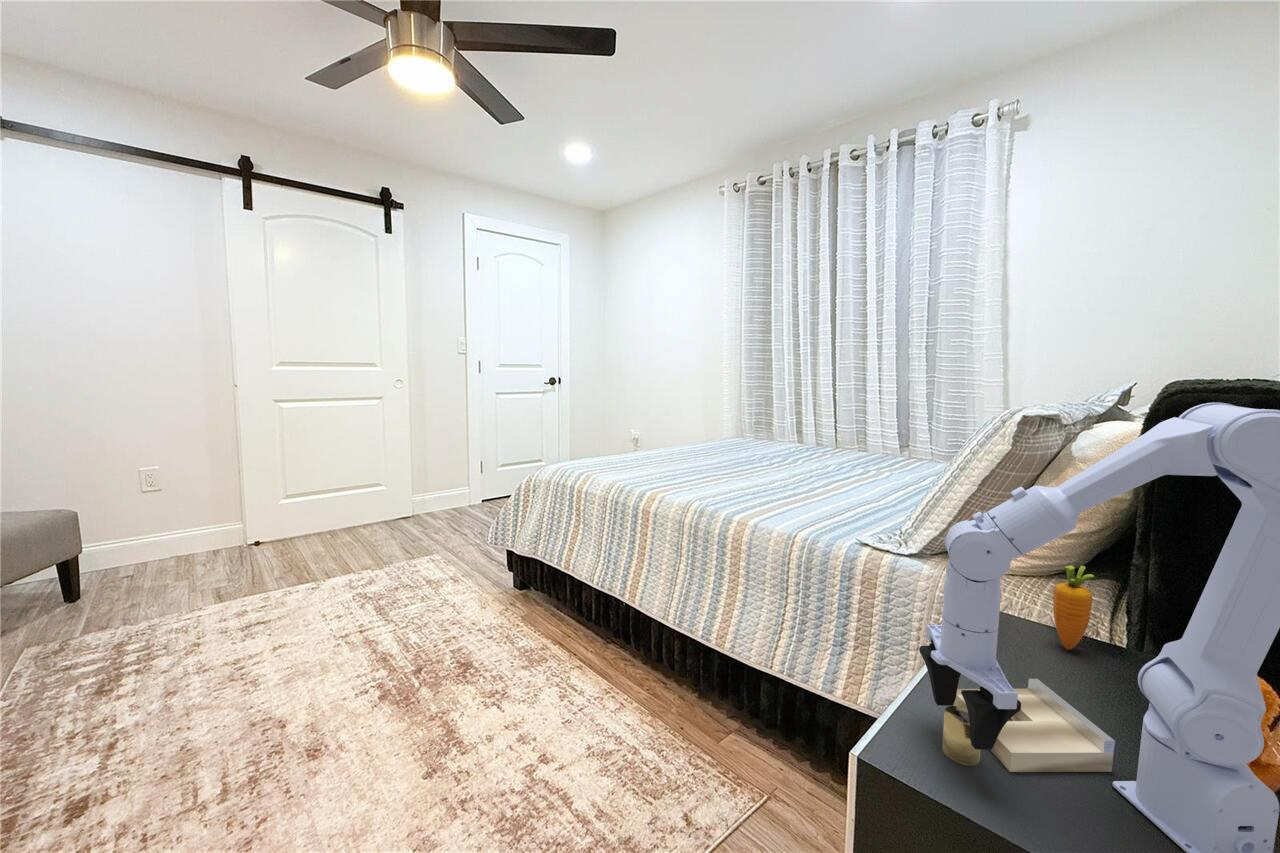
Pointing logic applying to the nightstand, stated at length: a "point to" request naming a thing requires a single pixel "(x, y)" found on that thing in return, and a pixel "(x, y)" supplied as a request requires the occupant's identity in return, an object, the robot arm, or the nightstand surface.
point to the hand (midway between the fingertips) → (961, 724)
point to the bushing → (958, 737)
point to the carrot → (1072, 607)
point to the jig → (1049, 735)
